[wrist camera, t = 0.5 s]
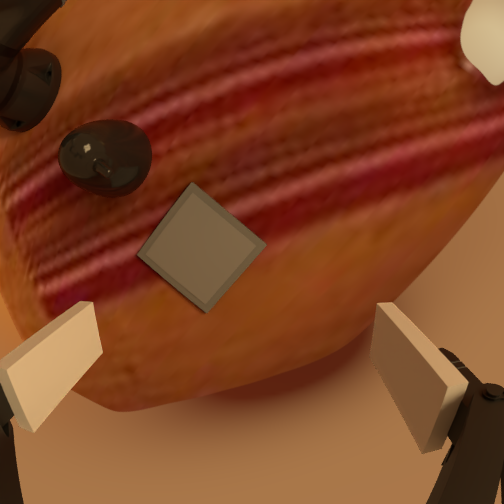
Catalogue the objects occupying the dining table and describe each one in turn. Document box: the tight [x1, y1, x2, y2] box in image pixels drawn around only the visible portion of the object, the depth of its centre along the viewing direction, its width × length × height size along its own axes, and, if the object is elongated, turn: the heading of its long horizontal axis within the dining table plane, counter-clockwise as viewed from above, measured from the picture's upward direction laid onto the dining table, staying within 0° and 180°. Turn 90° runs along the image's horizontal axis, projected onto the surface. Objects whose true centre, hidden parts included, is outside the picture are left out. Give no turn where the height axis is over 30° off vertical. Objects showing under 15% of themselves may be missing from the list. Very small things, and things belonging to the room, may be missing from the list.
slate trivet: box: [137, 182, 267, 313], centre depth 43 cm, size 13×13×1 cm
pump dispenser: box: [58, 119, 152, 198], centre depth 34 cm, size 10×10×15 cm
